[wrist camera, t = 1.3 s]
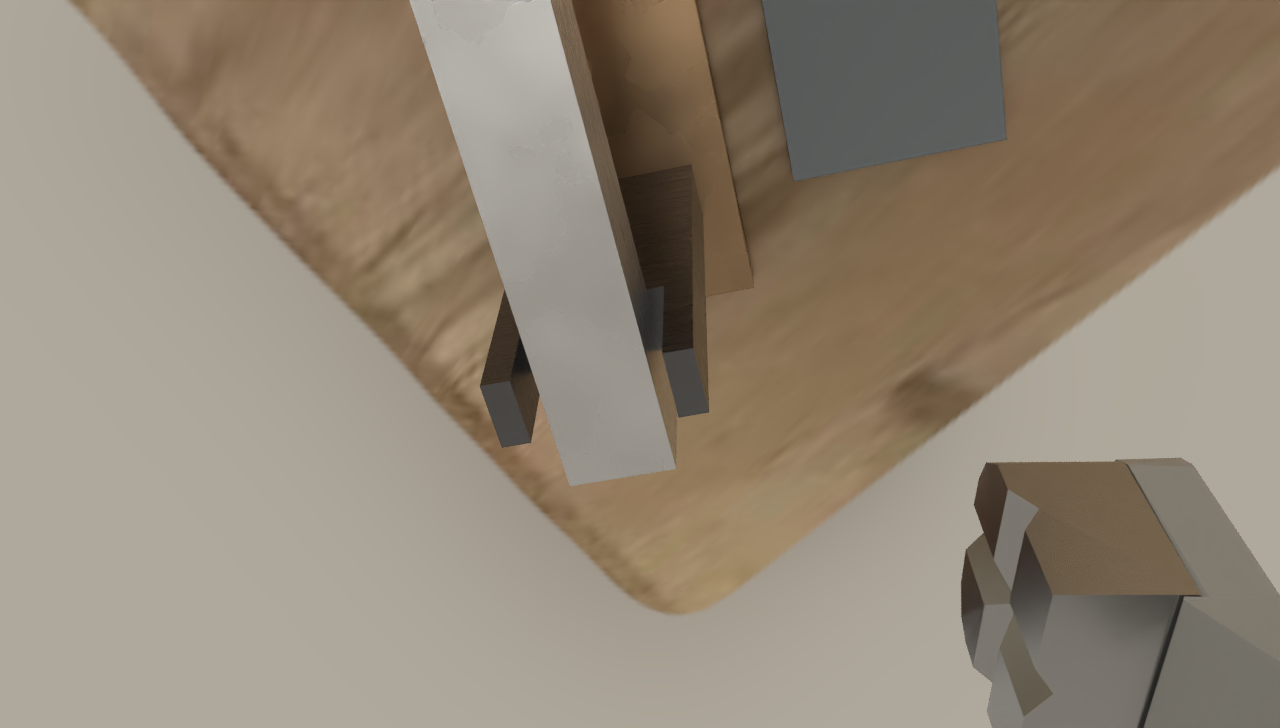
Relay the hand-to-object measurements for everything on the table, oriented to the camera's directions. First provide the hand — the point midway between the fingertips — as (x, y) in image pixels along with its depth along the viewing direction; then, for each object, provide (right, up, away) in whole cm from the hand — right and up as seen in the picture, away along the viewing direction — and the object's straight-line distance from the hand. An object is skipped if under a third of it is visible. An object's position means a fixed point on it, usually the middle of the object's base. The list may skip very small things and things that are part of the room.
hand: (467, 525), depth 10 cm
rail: (-1, +8, +21) cm, 23 cm away
